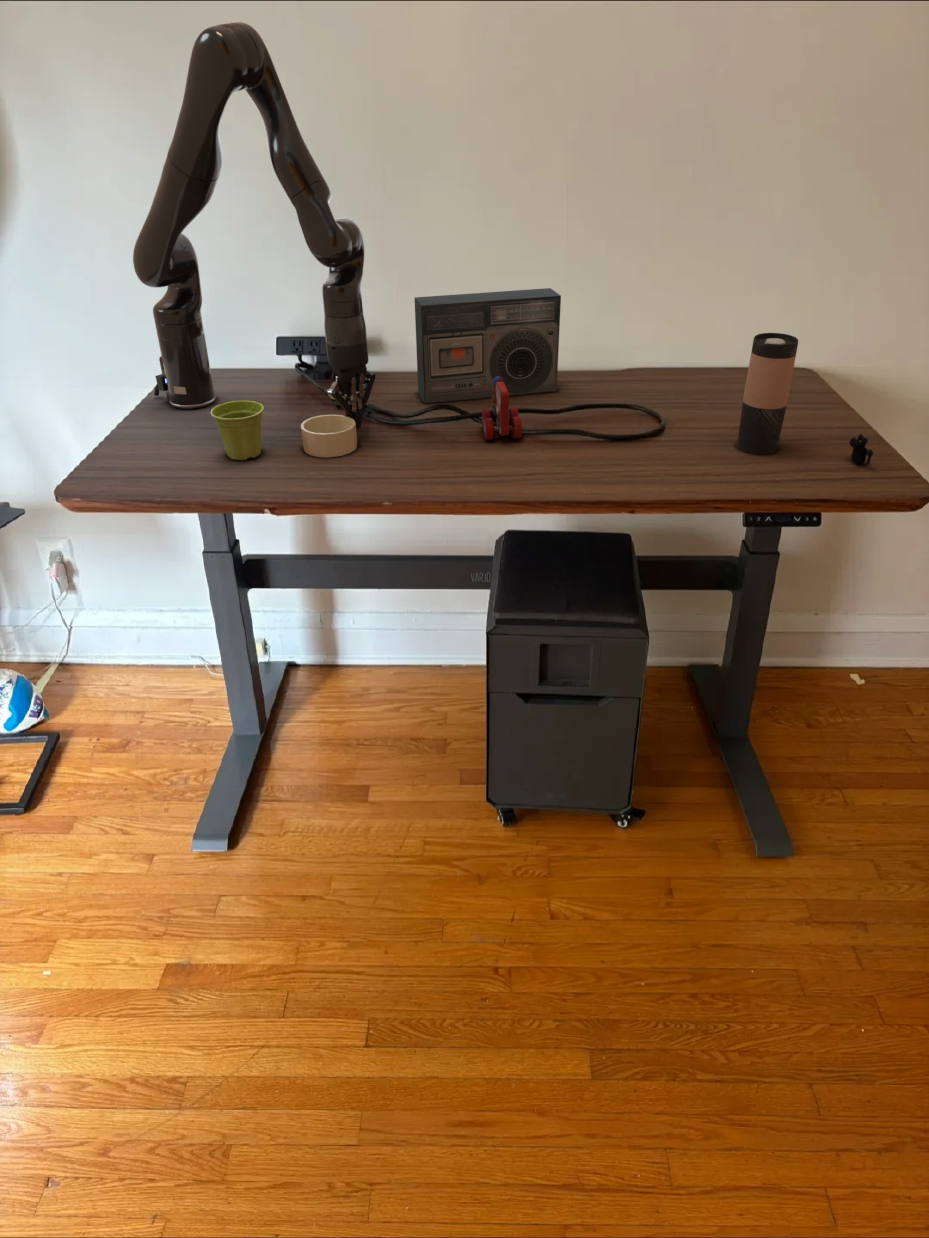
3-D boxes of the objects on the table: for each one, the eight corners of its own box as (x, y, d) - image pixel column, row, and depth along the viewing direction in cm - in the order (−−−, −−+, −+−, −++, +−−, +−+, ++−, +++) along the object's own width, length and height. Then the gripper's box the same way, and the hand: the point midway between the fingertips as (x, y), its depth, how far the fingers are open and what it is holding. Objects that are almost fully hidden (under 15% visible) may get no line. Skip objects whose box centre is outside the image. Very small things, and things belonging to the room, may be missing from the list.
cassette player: (424, 403, 188) (421, 305, 177) (418, 393, 194) (414, 297, 183) (556, 391, 194) (560, 295, 183) (546, 381, 199) (550, 288, 189)
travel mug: (779, 442, 168) (800, 334, 157) (777, 457, 162) (798, 346, 151) (737, 437, 170) (754, 331, 160) (733, 452, 164) (751, 342, 154)
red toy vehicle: (515, 421, 179) (516, 369, 173) (522, 444, 169) (524, 390, 163) (480, 422, 179) (480, 371, 173) (486, 446, 168) (486, 392, 162)
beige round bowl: (292, 450, 167) (289, 427, 165) (327, 433, 174) (325, 411, 172) (333, 461, 163) (331, 438, 160) (367, 443, 170) (366, 420, 167)
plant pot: (258, 466, 161) (251, 420, 157) (209, 462, 163) (201, 416, 158) (277, 446, 169) (271, 402, 164) (230, 443, 171) (223, 399, 166)
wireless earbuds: (871, 470, 157) (878, 443, 154) (857, 471, 157) (864, 444, 154) (851, 455, 163) (857, 428, 160) (838, 455, 163) (844, 429, 160)
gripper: (352, 327, 170) (360, 414, 180) (306, 344, 161) (317, 436, 170) (384, 332, 167) (390, 421, 176) (339, 350, 157) (348, 443, 167)
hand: (354, 428), depth 173 cm, fingers closed
